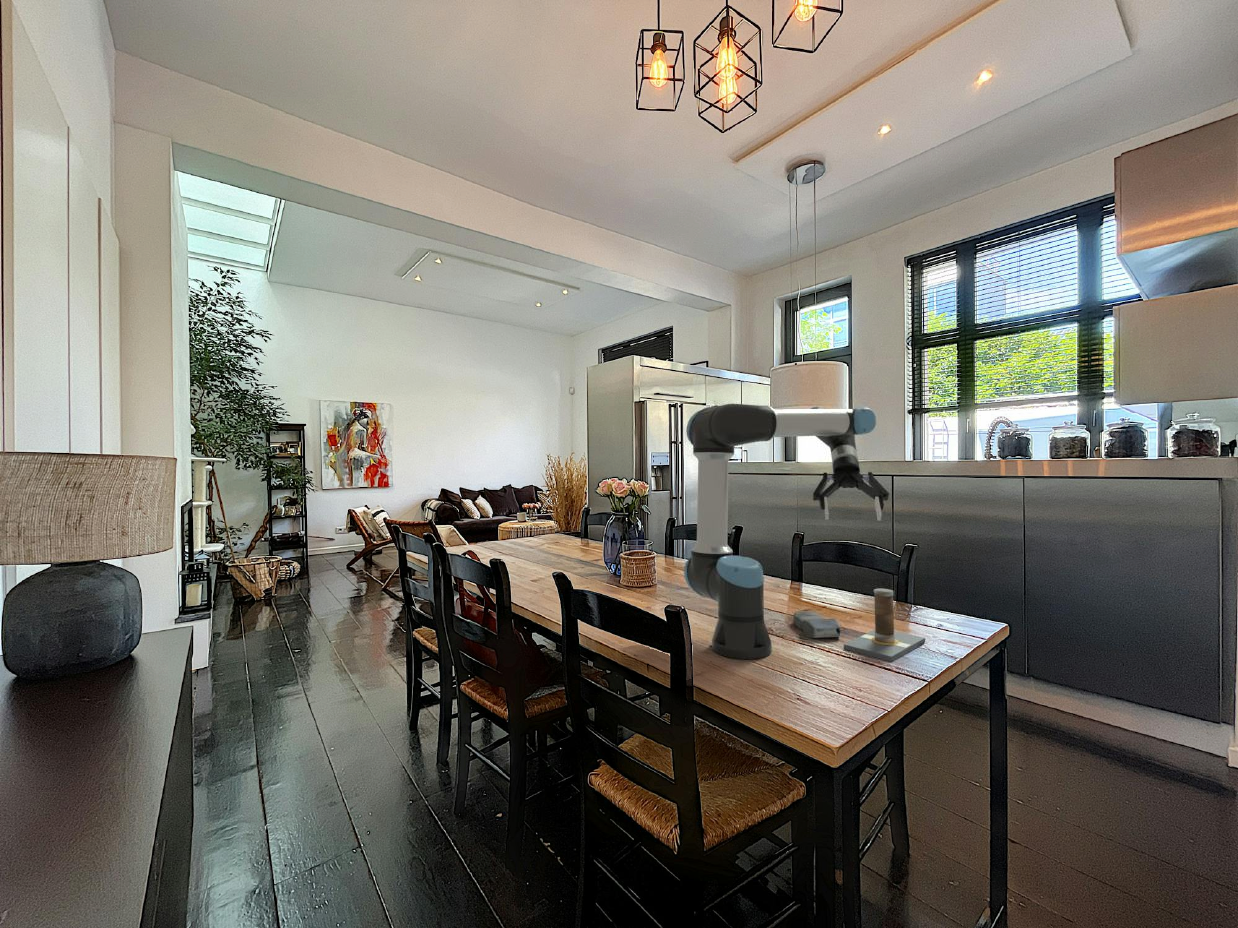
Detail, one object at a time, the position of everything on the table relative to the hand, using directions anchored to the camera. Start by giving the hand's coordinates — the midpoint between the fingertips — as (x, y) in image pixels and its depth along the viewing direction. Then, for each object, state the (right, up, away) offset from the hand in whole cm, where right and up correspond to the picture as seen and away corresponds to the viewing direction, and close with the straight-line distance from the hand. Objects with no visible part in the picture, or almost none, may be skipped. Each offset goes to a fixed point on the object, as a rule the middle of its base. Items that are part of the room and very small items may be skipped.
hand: (853, 517), depth 150 cm
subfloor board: (+4, -33, -10) cm, 34 cm away
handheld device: (-10, -33, +5) cm, 35 cm away
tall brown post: (+4, -31, -10) cm, 33 cm away
